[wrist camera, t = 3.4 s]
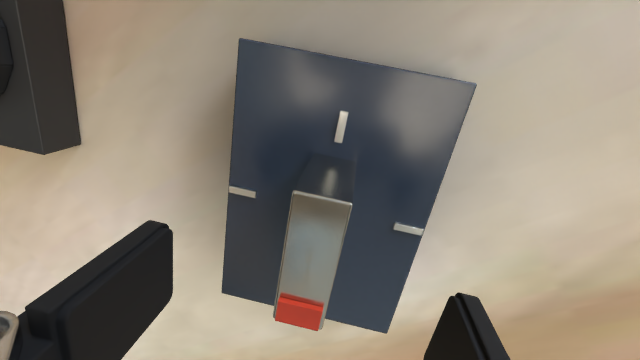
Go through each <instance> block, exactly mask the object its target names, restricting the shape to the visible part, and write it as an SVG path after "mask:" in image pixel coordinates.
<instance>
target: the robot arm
mask: <svg viewBox="0 0 640 360" xmlns="http://www.w3.org/2000/svg"><path fill="white" fill-rule="evenodd" d="M172 293H173V232H172V230H171V229H169V226H168V225H167V224H164V223H160V222H156V221H152V220H149V221H147V222H145V223H144V224H142V225H141V226H140V227H138V228H137V229H135V230H134V231H132V232H131V233H130V234H128V235H127V236H125V237H124V238H123V239H121V240H120V241H118V242H117V243H115V244H114V245H113V246H111V247H110V248H108V249H107V250H105V251H104V252H103V253H101V254H100V255H98V256H97V257H95V258H94V259H93V260H91V261H90V262H88V263H87V264H86V265H84V266H83V267H81V268H80V269H78V270H77V271H76V272H74V273H73V274H71V275H70V276H68V277H67V278H66V279H64V280H63V281H61V282H60V283H59V284H57V285H56V286H54V287H53V288H51V289H50V290H49V291H47V292H46V293H44V294H43V295H41V296H40V297H39V298H37V299H36V300H34V301H33V302H32V303H30V304H29V305H27V306H26V307H25V310H26V311H25V312H23V313H22V314H20V315H19V316H18V317H16V315H15V314H13V313H10V312H7V311H0V360H121V359H122V358H123V357H124V355H125V354H126V353H127V352H128V351H129V349H130V348H131V347H132V346H133V345H134V343H135V342H136V341H137V340H138V339H139V337H140V336H141V335H142V334H143V333H144V331H145V330H146V329H147V328H148V327H149V325H150V324H151V323H152V322H153V321H154V319H155V318H156V317H157V316H158V315H159V313H160V312H161V311H162V310H163V309H164V307H165V306H166V305H167V304H168V302H169V301H170V299H171V297H172ZM424 360H510V358H509V356H508V354H507V353H506V351H505V349H504V347H503V345H502V343H501V341H500V339H499V337H498V335H497V333H496V331H495V329H494V327H493V325H492V323H491V321H490V319H489V317H488V315H487V313H486V311H485V309H484V307H483V305H482V303H481V302H480V300H479V298H477V297H475V296H471V295H467V294H462V293H457V294H456V295H455V296H450V297H449V299H448V301H447V304H446V306H445V308H444V311H443V313H442V315H441V317H440V320H439V322H438V324H437V327H436V329H435V331H434V334H433V336H432V338H431V341H430V343H429V345H428V348H427V350H426V352H425V355H424Z"/></svg>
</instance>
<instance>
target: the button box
mask: <svg viewBox="0 0 640 360" xmlns="http://www.w3.org/2000/svg"><path fill="white" fill-rule="evenodd" d="M80 144H81V143H80V135H79V127H78V120H77V112H76V104H75V97H74V89H73V81H72V73H71V66H70V58H69V50H68V42H67V35H66V27H65V19H64V12H63V4H62V0H0V145H3V146H7V147H11V148H16V149H20V150H25V151H29V152H33V153H38V154H42V155H45V154H49V153H52V152H56V151H59V150H63V149H67V148H70V147H74V146H77V145H80Z"/></svg>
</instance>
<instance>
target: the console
mask: <svg viewBox="0 0 640 360" xmlns="http://www.w3.org/2000/svg"><path fill="white" fill-rule="evenodd" d="M476 86H477V84H476V83H471V82H466V81H461V80H456V79H451V78H445V77H440V76H435V75H430V74H425V73H419V72H414V71H409V70H404V69H399V68H394V67H388V66H383V65H378V64H373V63H368V62H362V61H357V60H352V59H347V58H342V57H336V56H331V55H326V54H321V53H316V52H310V51H305V50H300V49H295V48H290V47H284V46H279V45H274V44H269V43H264V42H258V41H253V40H248V39H243V38H239V46H238V61H237V75H236V90H235V104H234V119H233V134H232V148H231V163H230V177H229V192H228V207H227V221H226V236H225V250H224V265H223V280H222V293H224V294H228V295H232V296H236V297H240V298H244V299H248V300H252V301H256V302H260V303H264V304H268V305H272V306H274V305H275V299H276V292H277V286H278V280H279V273H280V267H281V261H282V254H283V248H284V242H285V235H286V229H287V223H288V216H289V210H290V204H291V197H292V192H293V190H294V188H295V186H296V185H297V183H298V181H299V179H300V177H301V176H302V174H303V172H304V170H305V169H306V167H307V165H308V163H309V161H310V160H311V158H312V156H313V154H314V153H318V154H322V155H327V156H332V157H337V158H341V159H346V160H351V161H355V162H356V169H355V182H354V194H353V206H352V210H351V214H350V218H349V222H348V226H347V230H346V234H345V238H344V242H343V246H342V250H341V254H340V259H339V263H338V267H337V271H336V275H335V279H334V283H333V287H332V291H331V295H330V299H329V303H328V307H327V311H326V315H325V319H329V320H333V321H337V322H341V323H345V324H349V325H353V326H357V327H361V328H365V329H369V330H373V331H378V332H382V333H386V334H387V332H388V329H389V326H390V324H391V321H392V318H393V315H394V313H395V310H396V307H397V304H398V302H399V299H400V296H401V293H402V290H403V288H404V285H405V282H406V279H407V277H408V274H409V271H410V268H411V266H412V263H413V260H414V257H415V254H416V252H417V249H418V246H419V243H420V241H421V238H422V235H423V232H424V230H425V227H426V224H427V221H428V218H429V216H430V213H431V210H432V207H433V205H434V202H435V199H436V196H437V194H438V191H439V188H440V185H441V183H442V180H443V177H444V174H445V171H446V169H447V166H448V163H449V160H450V158H451V155H452V152H453V149H454V147H455V144H456V141H457V138H458V135H459V133H460V130H461V127H462V124H463V122H464V119H465V116H466V113H467V111H468V108H469V105H470V102H471V99H472V97H473V94H474V91H475V88H476Z"/></svg>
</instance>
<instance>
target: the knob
mask: <svg viewBox="0 0 640 360" xmlns="http://www.w3.org/2000/svg"><path fill="white" fill-rule="evenodd" d="M355 169H356V162H355V161H351V160H346V159H341V158H337V157H332V156H327V155H322V154H318V153H314V154H313V156H312V158H311V160H310V161H309V163H308V165H307V167H306V169H305V170H304V172H303V174H302V176H301V177H300V179H299V181H298V183H297V185H296V186H295V188H294V190H293V192H292V197H291V204H290V210H289V216H288V223H287V229H286V235H285V242H284V248H283V254H282V261H281V267H280V273H279V280H278V286H277V292H276V299H275V305H274V311H273V318H275V321H279V322H283V323H287V324H291V325H295V326H299V327H303V328H307V329H311V330H315V331H318V329H319V330H320V329H322V327H323V323H324V319H325V315H326V311H327V307H328V303H329V299H330V295H331V291H332V287H333V283H334V279H335V275H336V271H337V267H338V263H339V259H340V254H341V250H342V246H343V242H344V238H345V234H346V230H347V226H348V222H349V218H350V214H351V210H352V206H353V194H354V182H355Z"/></svg>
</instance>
